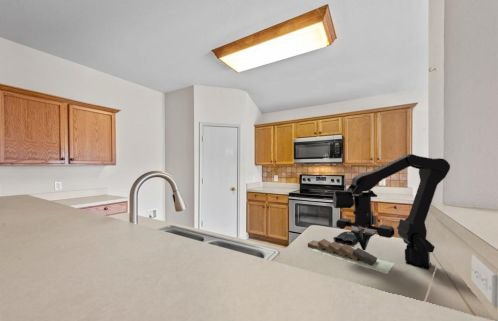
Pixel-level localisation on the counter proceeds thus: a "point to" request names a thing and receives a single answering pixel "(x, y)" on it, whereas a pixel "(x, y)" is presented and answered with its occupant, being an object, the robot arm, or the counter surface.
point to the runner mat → (361, 261)
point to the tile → (364, 256)
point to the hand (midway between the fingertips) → (364, 249)
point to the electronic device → (346, 237)
